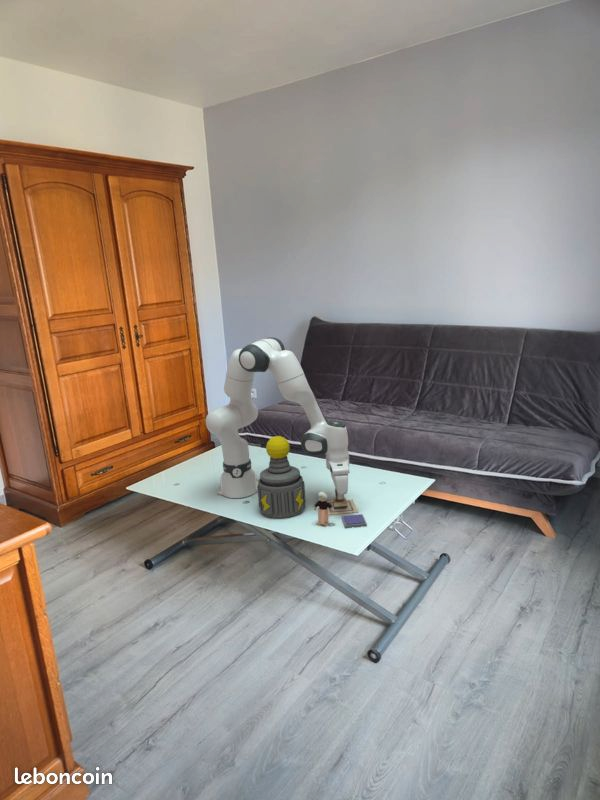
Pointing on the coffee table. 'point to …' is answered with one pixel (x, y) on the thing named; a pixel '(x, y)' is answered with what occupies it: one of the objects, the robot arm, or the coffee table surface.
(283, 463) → the grey toy tesla coil
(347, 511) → the card sheet
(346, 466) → the robot arm
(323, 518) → the grandmother figurine
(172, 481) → the coffee table surface
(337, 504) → the stamp
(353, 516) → the ink pad
